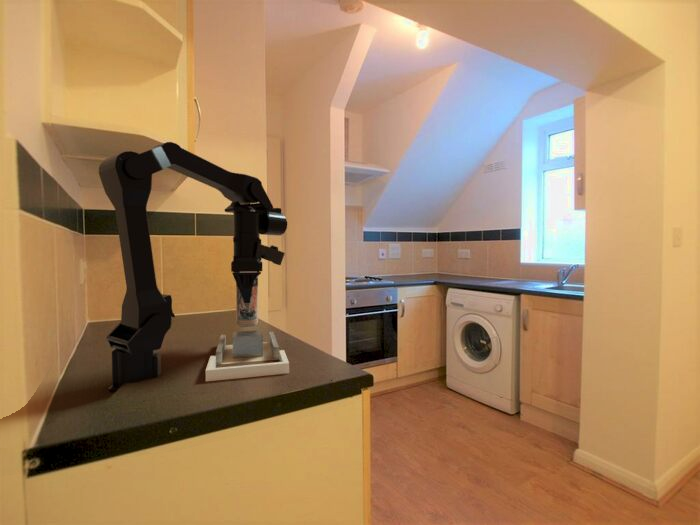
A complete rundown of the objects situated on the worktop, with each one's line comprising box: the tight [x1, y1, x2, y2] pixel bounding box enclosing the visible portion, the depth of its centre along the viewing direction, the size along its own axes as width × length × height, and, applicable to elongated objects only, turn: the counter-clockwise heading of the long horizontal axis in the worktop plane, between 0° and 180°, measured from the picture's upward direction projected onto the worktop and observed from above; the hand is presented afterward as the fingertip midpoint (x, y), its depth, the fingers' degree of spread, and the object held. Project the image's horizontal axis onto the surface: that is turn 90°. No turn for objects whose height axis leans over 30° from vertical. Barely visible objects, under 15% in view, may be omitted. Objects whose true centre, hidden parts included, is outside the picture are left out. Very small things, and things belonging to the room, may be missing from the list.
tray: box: [205, 349, 290, 382], centre depth 66 cm, size 14×9×3 cm, turn 106°
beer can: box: [235, 276, 259, 328], centre depth 82 cm, size 5×5×12 cm
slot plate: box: [215, 331, 280, 366], centre depth 78 cm, size 12×15×4 cm
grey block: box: [232, 329, 264, 359], centre depth 76 cm, size 6×5×4 cm
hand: (247, 301), depth 82 cm, fingers closed on beer can, 5 cm apart
